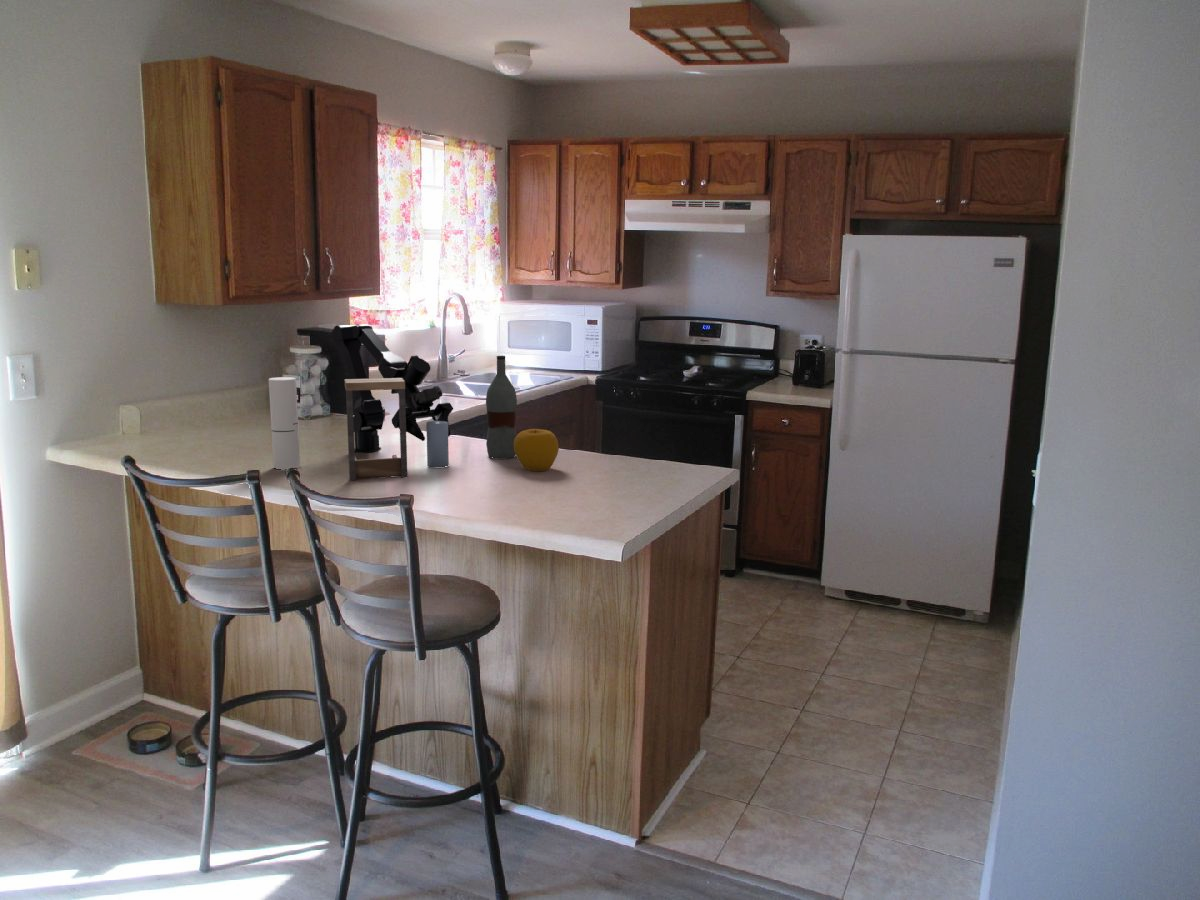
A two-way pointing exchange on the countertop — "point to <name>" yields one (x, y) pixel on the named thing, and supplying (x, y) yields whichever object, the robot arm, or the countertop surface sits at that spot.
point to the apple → (536, 449)
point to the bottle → (501, 414)
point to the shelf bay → (356, 467)
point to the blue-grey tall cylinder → (437, 444)
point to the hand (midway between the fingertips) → (436, 437)
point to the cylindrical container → (284, 422)
